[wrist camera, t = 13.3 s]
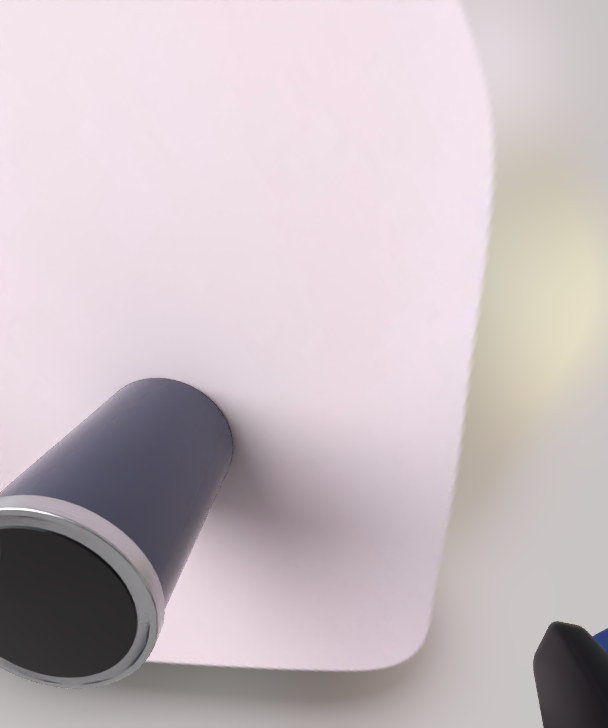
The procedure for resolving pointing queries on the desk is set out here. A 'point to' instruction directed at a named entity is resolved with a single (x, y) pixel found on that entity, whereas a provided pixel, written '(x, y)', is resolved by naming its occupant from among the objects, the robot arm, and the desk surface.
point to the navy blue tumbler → (106, 534)
